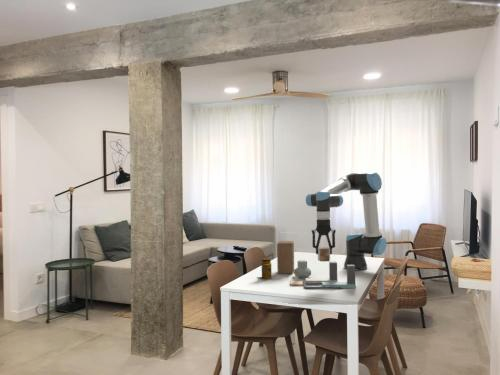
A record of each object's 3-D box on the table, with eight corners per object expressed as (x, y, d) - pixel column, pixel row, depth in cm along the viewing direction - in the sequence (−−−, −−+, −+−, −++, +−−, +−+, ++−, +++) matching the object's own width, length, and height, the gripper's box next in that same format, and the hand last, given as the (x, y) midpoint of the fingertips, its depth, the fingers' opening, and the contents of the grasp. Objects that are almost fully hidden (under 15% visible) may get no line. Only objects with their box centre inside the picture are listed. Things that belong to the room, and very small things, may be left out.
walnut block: (327, 259, 237) (327, 247, 237) (329, 261, 232) (329, 248, 232) (319, 259, 237) (318, 247, 237) (320, 261, 232) (319, 248, 232)
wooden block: (292, 274, 266) (292, 243, 265) (277, 273, 268) (276, 242, 267) (294, 270, 275) (293, 240, 275) (279, 270, 277) (278, 240, 277)
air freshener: (292, 276, 261) (292, 260, 261) (304, 274, 265) (303, 258, 264) (300, 279, 251) (300, 263, 251) (312, 278, 254) (312, 262, 254)
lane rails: (336, 280, 247) (336, 278, 247) (341, 288, 229) (341, 286, 229) (302, 280, 248) (302, 278, 248) (304, 288, 230) (304, 286, 230)
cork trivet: (302, 282, 244) (302, 281, 244) (303, 285, 237) (302, 284, 237) (290, 282, 244) (290, 281, 244) (290, 285, 237) (290, 284, 237)
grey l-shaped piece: (353, 285, 236) (353, 264, 235) (355, 288, 230) (355, 266, 229) (321, 285, 237) (321, 264, 237) (322, 288, 231) (322, 266, 231)
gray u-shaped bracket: (336, 281, 245) (335, 261, 245) (337, 283, 239) (337, 263, 239) (305, 281, 246) (305, 261, 246) (306, 283, 240) (305, 263, 240)
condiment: (274, 278, 255) (273, 259, 255) (261, 280, 251) (261, 260, 251) (268, 276, 262) (268, 257, 261) (256, 278, 258) (256, 258, 258)
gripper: (338, 218, 237) (339, 258, 238) (306, 218, 238) (307, 259, 239) (340, 219, 230) (341, 261, 230) (307, 219, 231) (308, 261, 231)
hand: (323, 260), depth 234 cm, fingers closed on walnut block, 5 cm apart
